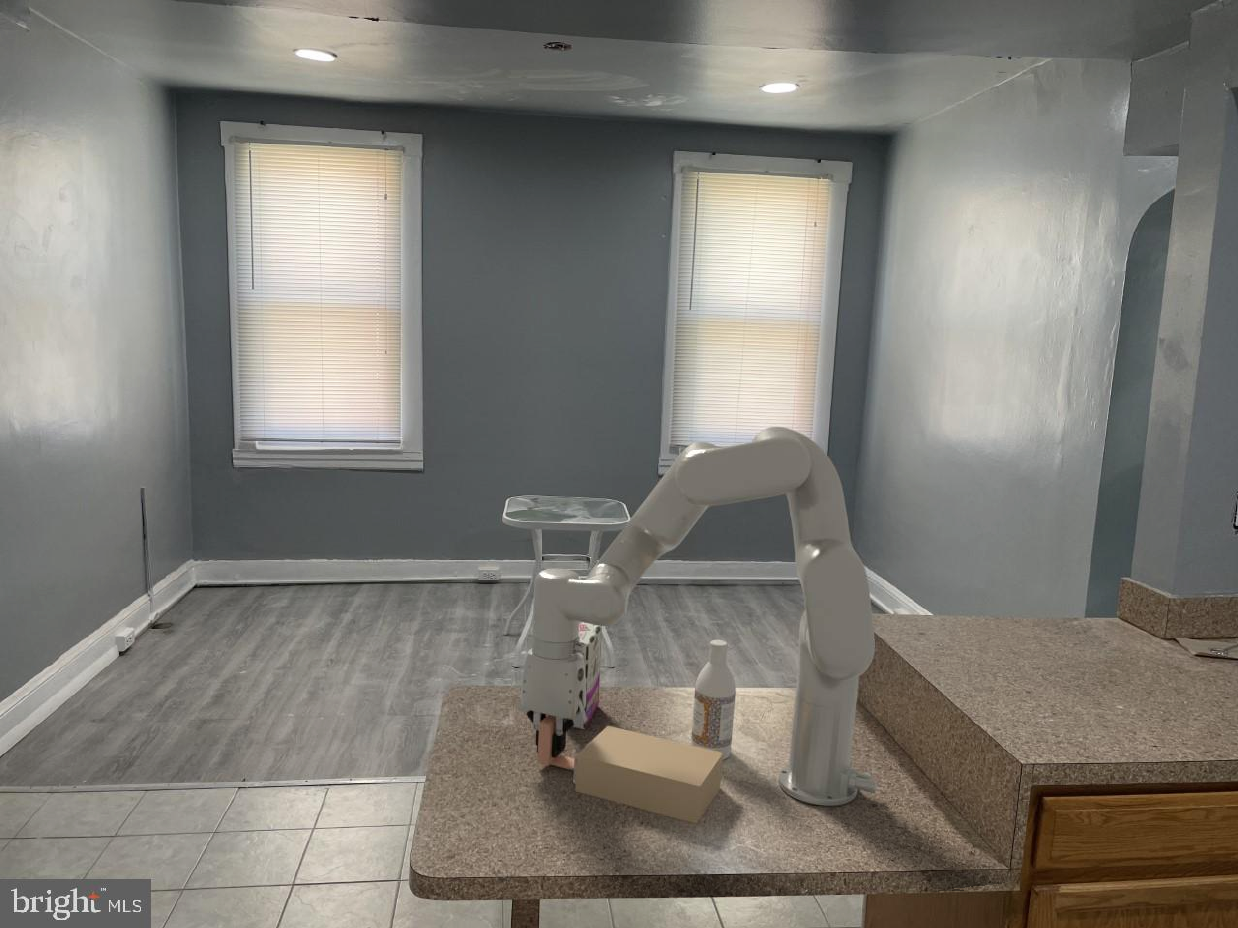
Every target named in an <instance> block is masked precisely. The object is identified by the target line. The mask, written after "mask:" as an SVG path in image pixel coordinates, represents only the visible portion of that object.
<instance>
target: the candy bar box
mask: <svg viewBox="0 0 1238 928" xmlns="http://www.w3.org/2000/svg"><path fill="white" fill-rule="evenodd" d="M602 628H603V626H598V625H593V624H589V623H585V622H581V621H580V622H579V637H580V643H582V644H584V645H586V650H585V652H584V653H581V652H580V654H582V655H583V660H584V666H585V675H586V706H585V709H584V710H585V713H586V716H587V722H586V723H585V724H583V725H579V726H573V727H571V728H570V729H574V730H575V729H577V730H586V729H587V727H588V725H589V724H590V721H591V719H592V718H593V716H594V715H595V713H596V710H597V709H598V707H599V706H600V703H599V700H600V699H599V698H600V676H601V658H602V657H601V653H602V630H603V629H602ZM575 717H576V716H575Z"/></svg>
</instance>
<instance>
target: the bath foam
mask: <svg viewBox="0 0 1238 928" xmlns="http://www.w3.org/2000/svg"><path fill="white" fill-rule="evenodd" d="M727 654H728V642H727V641H725V640H722V639H713V640H711V641H710V643H709V657H708V662H707V663H706V664H705V666H704V667H703V668H702V670H701V671H700V672H699V674H698V675H697V679H696V681H695V686H694V697H693V711H692V712H693V713H692V724H691V742H690V745H692V746H696V747H700V748H704V749H708V750H713V751H717V752H721V753H723V760H726V759H728V758H729V757H730V756H731V752H732V742H733V731H734V719H735V707H736V706H735V705H736V696H737V695H736V693H737V691H736V690H737V689H736V688H737V687H736V681H735V678H734V675H733V673H732V671H731V669H730V667H729V666H728V664H727V656H728V655H727ZM723 760H722V761H723Z"/></svg>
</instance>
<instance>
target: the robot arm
mask: <svg viewBox="0 0 1238 928" xmlns="http://www.w3.org/2000/svg"><path fill="white" fill-rule="evenodd" d="M843 490H844V488H843V485H842V481H841V478H840V476H839V473H838V472H837V469H836V467H835V465H834V464H833V462H832V460H831V459H830V457H829V456H828V454H827V453H826V452H825V451H824V450H823V448H821V446H820V445H818V443H816V442H815V441H814V440H813V439H812V438H810V437H808V436H807V435H804V434H803V433H801V432H798V431H796V430H793V429H790V428H787V427H785V426H784V427H782V426H771V427H767V428H765V429H762V430H760V432H757V434H756V435H755V436H754V437H753V439H752V440H751V441H749V442H745V443H740V444H732V445H727V446H722V447H720V446H718V445H715V444H712V443H710V442H707V441H699V442H694V443H691V444H690V445H688V446H686V448H684V450H682V452H681V453H680V454H679V455H678V457H677V458H676V459H675V460H674V462H673V463H672V464H671V466H670V467H669V468H668V469H667V471H666V472H665V474H664V475H663V476H662V478H660V480H659V481H658V483H656V485H655V487H654V488H653V489H652V490H651V492H650V493H649V494H648V495H647V497H646V498H645V500H644V501H643V502H642V504H640V506H639V507H638V508H637V510H636V511H635V512H634V514H633V515H632V516H631V517H630V519H629V521H628V522H627V524H626V525H625V527H624V528H623V529H622V530H621V531H620V532H619V534H618V535H617V536H616V538H615V539H613V541H612V543H611V544H610V545H609V546H608V548H607V549H606V550H605V552H604V553H603V554H602V555H601V557H600V558H599V560H597V562H596V563H595V565H594V566H593V567H592V569H591V570H590V571H589V573H588V575H587V577H586V579H581V577H580V575H579V574H578V573H577V572H576V571H574V570H571V569H566V568H559V567H557V568H554V567H553V568H547V569H544V570H541V571H540V572H538V573H537V574H536V576H535V578H534V583H533V584H534V589H533V610H532V612H533V614H532V615H533V616H532V629H531V630H532V633H531V635H532V636H531V648H530V649H529V650H528V652H527V655H526V659H525V664H524V668H523V673H522V680H521V687H520V688H521V691H520V699H519V702H518V703H517V706H516V708H517V710H519V712H521V713H523V714H524V715H526V716H527V718H528V719H529V720H530V722H531V723H532V727H533V729H534V730H535V743H534V744H535V746H536V754H538V739H539V722H541V721H542V720H543V719H544V718H546V717H547V716H548V715H551V716H555V717H556V730H555V734H553V737H552V757H553V758H556V757H557V756H558V755H559V754H560V753H563V752H565V749H566V744H567V743H566V742H567V741H566V740H567V731H568V730H570V729H572V728H571V727H573V726H579V725H583V724H585V723H586V722H587V716H586V713H585V710H584V709H585V706H586V675H585V666H584V660H583V655H582V654H580V652H581V653H584V652H585V650H586V645H584V644H582V643H580V637H579V622H585V623H589V624H593V625H598V626H602V627H609V626H613V625H615V624H617V623H618V622H620V621H621V619H622V618H623V617H624V615H625V613H626V611H627V608H628V607H627V606H628V603H629V596H630V593H631V592H632V590H633V589H634V588H635V587H636V585H637V584H638V582H640V580H641V579H642V578H643V576H644V575H646V572H647V571H648V570H649V569H650V567H651V566H652V565H653V564H654V563H655V562H656V561H657V560H658V559H659V558H660V557H662V555H664V554H665V553H669V552H670V551H673V550H675V549H676V548H677V547H678V546H679V545H680V544H681V543H682V541H683V540H684V539H685V537H686V536H687V535H688V534H689V533H690V531H691V530H692V528H693V527H694V526H695V525H696V523H697V522H698V520H699V519H700V518H701V517H702V515H703V514H704V513H705V512H706V510H707V509H708V508H709V507H713V506H721V505H722V506H723V505H728V504H729V505H730V504H735V503H742V502H745V501H746V502H749V501H752V500H759V499H764V498H765V499H766V498H769V497H776V496H781V495H784V494H785V495H786V498H787V502H788V508H789V514H790V518H791V526H792V532H793V533H792V534H793V545H794V555H795V572H796V576H797V577H798V581H799V583H800V585H801V589H802V595H803V602H804V608H805V609H804V610H803V613H802V614H801V615H802V616H801V618H800V623H799V630H798V633H799V634H798V667H797V676H796V677H797V679H796V690H795V700H794V707H793V709H794V711H793V719H792V721H793V722H792V731H791V742H790V753H789V764H787V765H785V766H783V767H782V768H780V770H779V773H778V778H777V779H778V780H777V781H778V782H777V783H778V785H779V786H780V788H781V789H782V790H783V791H784V792H785V793H786V794H788V795H789V796H791V797H792V798H794V799H796V800H798V801H801V802H804V803H807V804H812V805H816V806H824V807H834V806H842V805H845V804H848V803H850V802H852V801H853V800H855V798H856V797H857V795H858V790H861V791H863V792H867V793H870V794H876V793H877V789H878V788H877V787H878V781H877V780H872V773H867V772H860V771H857V769H855V768H854V764H855V760H853V759H851V757H852V749H853V748H852V747H853V740H854V739H853V738H854V727H855V720H856V719H855V718H856V709H857V708H856V707H857V702H858V693H859V692H858V691H859V682H860V681H859V679H860V676H862V675H863V674H864V673H865V672H866V671H867V669H868V668H870V665H871V664H872V662H873V659H874V656H875V651H876V650H875V649H876V640H875V630H874V629H875V627H874V622H873V621H874V620H873V619H874V618H873V611H872V603H871V594H870V593H871V592H870V586H869V580H868V575H867V572H866V568H865V566H864V564H863V562H862V560H861V558H860V556H859V555H858V553H857V552H856V550H855V549H854V547H853V544H852V539H851V534H850V527H849V526H850V525H849V520H848V519H849V518H848V512H847V508H846V501H845V494H844V491H843ZM575 716H576V717H575Z"/></svg>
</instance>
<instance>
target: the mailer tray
mask: <svg viewBox="0 0 1238 928" xmlns="http://www.w3.org/2000/svg"><path fill="white" fill-rule="evenodd" d="M555 730H556V717H555V716H551V715H547V717H546V718H544V719H543V720H542V721H541V722H539V739H538V753H537V762H536V763H537V764H539V765H543V766H547V767H549V766H550V765H552V766H556V767H560V768H563V769H567V770H571V771H573V777H572V778H573V779H572V782H573V784H576V768H577V755H575V757H569V756H565V755H562V753H563V752H562V753H560V754H559V755H558V756H557V757H556V758H553V757H552V737H553V734H555ZM601 732H602V731H601ZM601 732H599V733H598V734H597V735H596V736H595V737H594V738H596V737H597V736H598V735H599V734H600V733H601Z"/></svg>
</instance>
